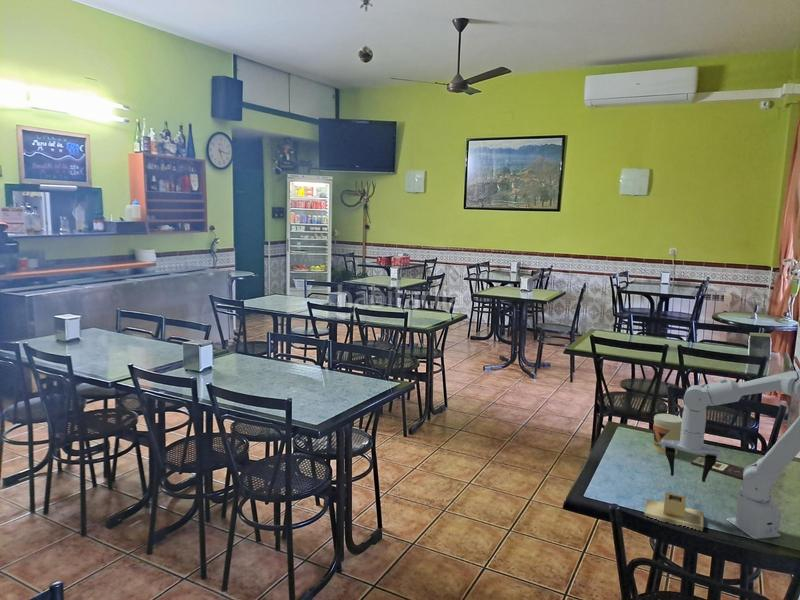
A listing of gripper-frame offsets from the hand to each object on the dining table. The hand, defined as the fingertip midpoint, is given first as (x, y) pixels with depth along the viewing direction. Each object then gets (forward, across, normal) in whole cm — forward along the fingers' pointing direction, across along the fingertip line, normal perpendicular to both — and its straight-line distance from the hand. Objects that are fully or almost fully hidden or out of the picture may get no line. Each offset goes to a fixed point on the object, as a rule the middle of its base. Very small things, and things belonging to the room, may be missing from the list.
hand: (687, 477), depth 159 cm
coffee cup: (+10, +6, -42) cm, 44 cm away
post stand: (+9, +3, +6) cm, 11 cm away
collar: (+8, +3, +6) cm, 10 cm away
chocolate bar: (+10, -12, -36) cm, 39 cm away
